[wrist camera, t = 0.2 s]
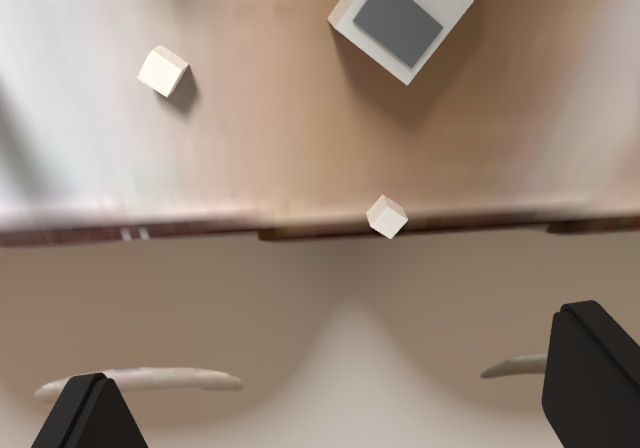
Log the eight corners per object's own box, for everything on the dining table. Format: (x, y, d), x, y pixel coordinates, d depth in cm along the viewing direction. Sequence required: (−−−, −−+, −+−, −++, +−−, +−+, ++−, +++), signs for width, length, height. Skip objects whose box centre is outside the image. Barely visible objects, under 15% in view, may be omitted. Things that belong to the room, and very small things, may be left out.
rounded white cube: (160, 44, 34) (151, 49, 32) (189, 64, 35) (182, 70, 33) (146, 71, 35) (136, 78, 33) (174, 89, 36) (166, 97, 34)
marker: (382, 194, 41) (387, 206, 39) (401, 207, 42) (408, 219, 40) (366, 213, 42) (370, 226, 40) (385, 225, 43) (390, 239, 41)
